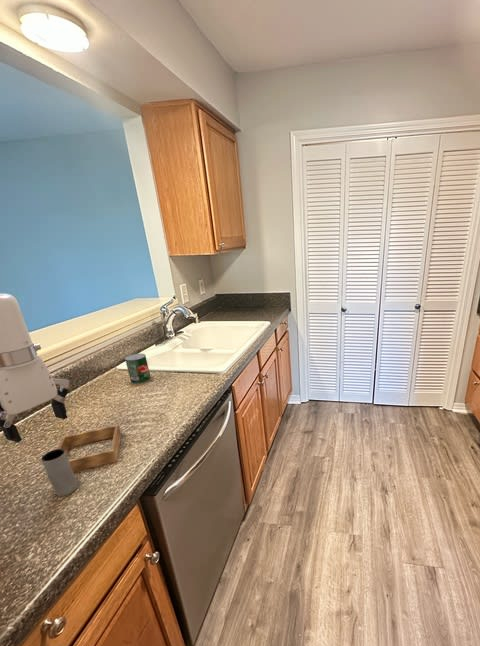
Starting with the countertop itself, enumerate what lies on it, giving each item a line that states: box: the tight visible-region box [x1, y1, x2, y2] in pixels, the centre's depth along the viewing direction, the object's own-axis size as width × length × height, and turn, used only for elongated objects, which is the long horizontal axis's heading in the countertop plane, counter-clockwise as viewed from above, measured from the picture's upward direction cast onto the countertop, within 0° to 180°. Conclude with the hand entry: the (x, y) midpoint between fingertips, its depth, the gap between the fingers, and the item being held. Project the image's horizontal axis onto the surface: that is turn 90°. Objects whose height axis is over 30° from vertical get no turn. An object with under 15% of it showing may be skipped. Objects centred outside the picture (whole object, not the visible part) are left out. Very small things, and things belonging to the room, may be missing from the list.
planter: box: [40, 448, 79, 497], centre depth 77 cm, size 4×4×10 cm
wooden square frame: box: [56, 424, 122, 473], centre depth 91 cm, size 15×15×4 cm
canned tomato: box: [124, 353, 152, 385], centre depth 136 cm, size 8×8×11 cm
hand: (40, 428), depth 72 cm, fingers open, 9 cm apart
